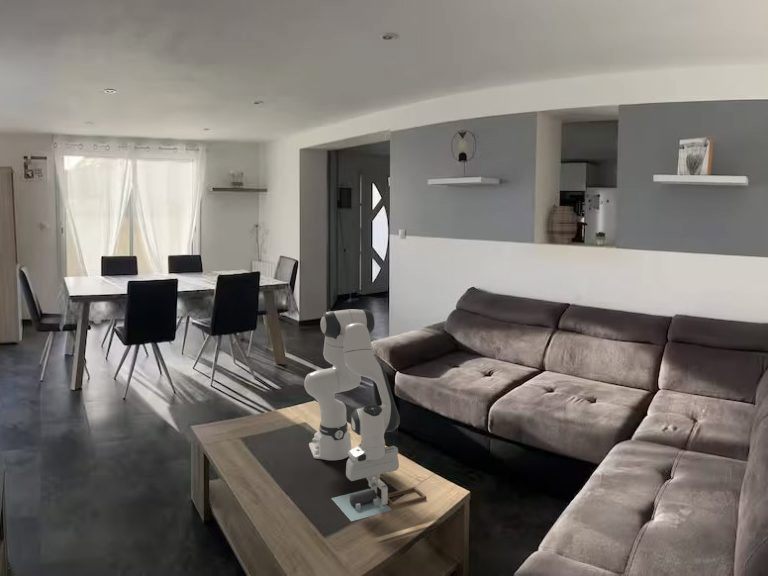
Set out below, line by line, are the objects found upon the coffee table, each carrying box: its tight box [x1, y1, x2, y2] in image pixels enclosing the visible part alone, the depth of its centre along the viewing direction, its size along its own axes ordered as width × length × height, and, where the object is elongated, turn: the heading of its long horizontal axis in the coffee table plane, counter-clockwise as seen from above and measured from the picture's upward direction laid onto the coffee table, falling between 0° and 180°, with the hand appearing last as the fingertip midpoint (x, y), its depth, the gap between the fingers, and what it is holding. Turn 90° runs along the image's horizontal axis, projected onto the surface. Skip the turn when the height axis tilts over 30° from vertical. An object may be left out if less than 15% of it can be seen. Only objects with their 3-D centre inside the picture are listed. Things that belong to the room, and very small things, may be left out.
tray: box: [388, 486, 427, 509], centre depth 220 cm, size 9×14×2 cm, turn 118°
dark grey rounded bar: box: [350, 490, 378, 507], centre depth 216 cm, size 4×9×4 cm, turn 118°
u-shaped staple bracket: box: [370, 476, 389, 505], centre depth 219 cm, size 10×2×7 cm, turn 28°
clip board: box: [331, 488, 393, 522], centre depth 216 cm, size 18×16×3 cm
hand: (373, 485), depth 218 cm, fingers closed
